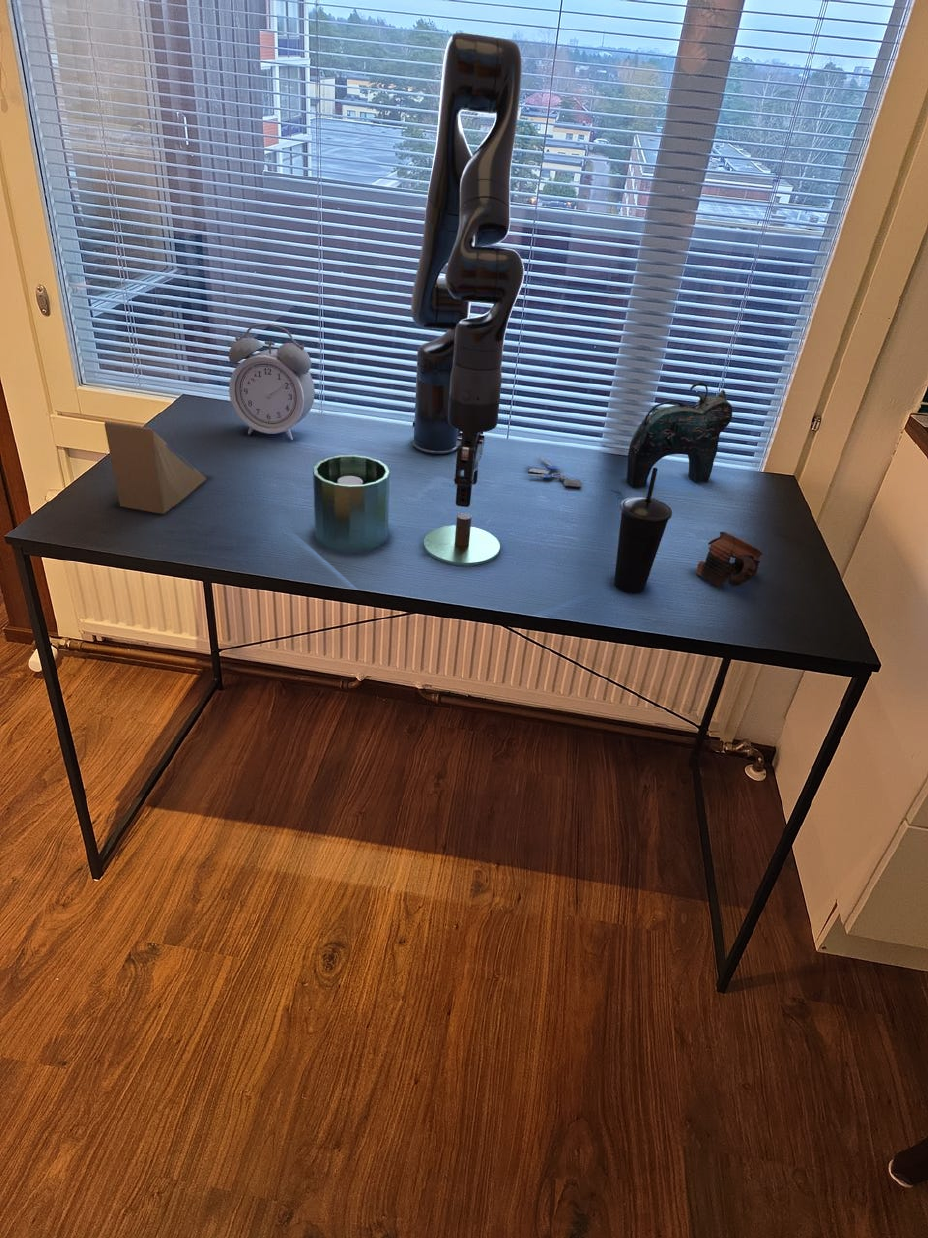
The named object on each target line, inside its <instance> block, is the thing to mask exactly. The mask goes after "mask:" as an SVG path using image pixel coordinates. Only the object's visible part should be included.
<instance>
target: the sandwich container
mask: <svg viewBox="0 0 928 1238" xmlns="http://www.w3.org/2000/svg"><path fill="white" fill-rule="evenodd" d="M103 426H104V431H105V436H106V440H107V445H108V452H109V456H110V461H111V466H112V472H113V477H114V483H115V488H116V492H117V493H116V494H117V498H118V502H119V507H122V508H128V509H133V510H139V511H145V512H148V513H155V514H161V515H164V514H166V513H168V512H169V511H170V510H171V509H172V508H174V507H175V506H176V505H178V504H179V503H180V502H182V501H184V499H185V498H187V497H188V496H189V495H190V494H191V493H193V491H195V490H196V489H197V488H198V487H200V485H201V484H203V483H204V482H205V481H206V480H208V478H207V477H206V476H204V475H203V474H202V473H201V472H200V471H198V469H196V468H195V467H194V466H193V465H191V463H189V462H188V461H187V460H186V459H185V458H184V457H182V455H181V454H179V453H178V452H176V450H174V449H173V448H172V447H171V446H170V445H169V444H168V443H167V442H166V441H165V440H164V439H163V438H162V437H161V436H160V435H158V433H156V432H155V430H153V429H152V428H150V427H149V428H148V427H143V426H138V425H133V424H128V423H121V422H113V421H105V422H104V424H103Z"/></svg>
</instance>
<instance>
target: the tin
mask: <svg viewBox="0 0 928 1238" xmlns="http://www.w3.org/2000/svg"><path fill="white" fill-rule="evenodd" d="M390 475H391V474H390V469H389V467H388V465H386V464H385V463H383V462H382V461H381V460H378V459H375V458H372V457H369V456H364V455H357V454H344V455H342V454H340V455H335V456H330V457H326V458H324V459H322V460H320V461H318V462H316V463H315V465H314V466H313V468H312V481H313V482H312V483H313V485H312V486H313V509H314V510H313V512H314V514H313V516H314V535H315V539H316V541H317V542H319V544H321V545H322V546H323V547H326V548H328V549H331V550H333V551H339V552H347V553H357V552H360V553H361V552H366V551H370V550H373V549H377V548H379V547H380V546H381V545H383V544H385V543H386V541H387V539H388V537H389V515H390V514H389V510H390V502H389V501H390ZM344 476H355V477H359V478H360V479H362V481H363V485H345V484H337V482H338V479H339V478H341V477H344Z"/></svg>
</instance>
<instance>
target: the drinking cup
mask: <svg viewBox="0 0 928 1238" xmlns="http://www.w3.org/2000/svg"><path fill="white" fill-rule="evenodd" d="M657 474H658V467H652V469H651V476H650V479H649V484H648V490H647V493H646V496H632V497H628V498H627V497H626V498H625V499H623V500H622V501H621V503H620V507H619V509H620V511H621V513H620V523H619V532H618V541H617V542H618V543H617V552H616V561H615V570H614V578H613V579H614V580H613V581H614V583H613V584H614V587H615V588H616V589H618V590H619V591H621V592H623V593H626V594H639V593H642V592H643V591H644V590H645V588H646V586H647V583H648V580H649V577H650V574H651V571H652V568H653V565H654V562H655V559H656V557H657V553H658V551H659V548H660V545H661V542H662V539H663V536H664V533H665V531H666V527H667V525H668V522H669V520H670V519H671V518H672V515H673V510H672V508H671V506H669V505H668V504H666V503H665V502H664V501H661V500H659V499H656V498H654V497H652V496H653V491H654V486H655V482H656V479H657V478H656V477H657Z"/></svg>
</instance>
